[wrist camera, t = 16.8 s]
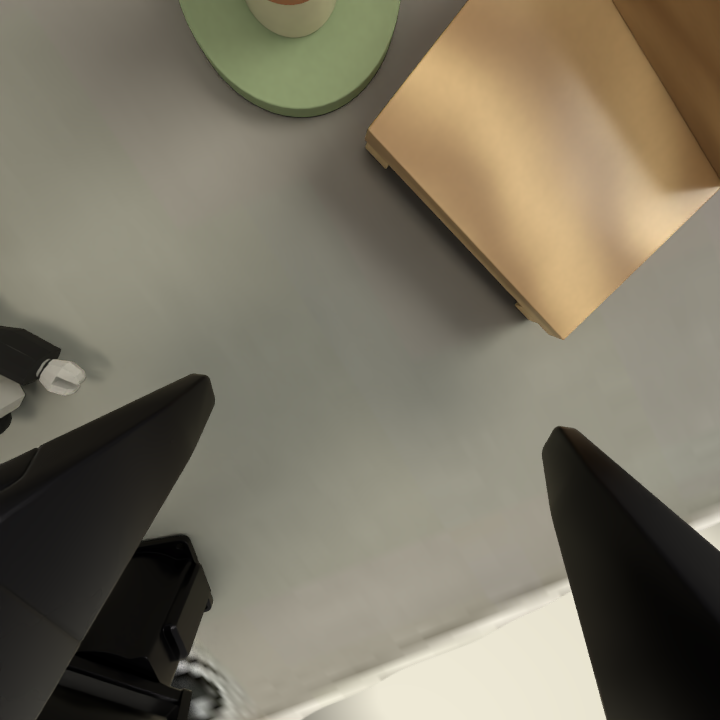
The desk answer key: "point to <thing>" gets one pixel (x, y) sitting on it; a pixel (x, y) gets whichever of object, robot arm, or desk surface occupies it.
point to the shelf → (562, 140)
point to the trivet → (294, 53)
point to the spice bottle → (292, 15)
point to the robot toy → (31, 369)
